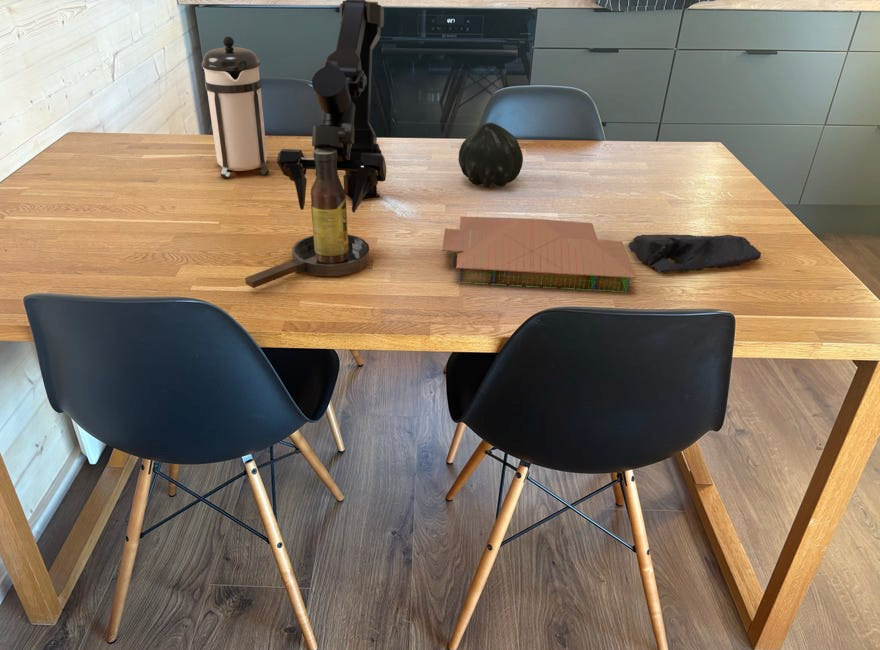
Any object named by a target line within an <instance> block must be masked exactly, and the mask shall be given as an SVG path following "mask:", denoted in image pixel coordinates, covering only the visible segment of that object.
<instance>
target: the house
mask: <svg viewBox="0 0 880 650" xmlns="http://www.w3.org/2000/svg"><path fill="white" fill-rule="evenodd" d="M459 221H460V222H459V228H444V234H443V240H442V249H441V251H443V252H446V253H452V254H451V255H452V256H451V258H452V259H451V269H454V261H455V260H456V267H455V269H460V279H459V281H460V284H461V283H462V284H469V283H472V282H471V281H472V278H469V279H470V281H469V282H467V281H462V277H463V275H466V274H468V272H467V271H468V270H479V273H474V276H475V277H474V279H476V278H477V277H476V276H484V274H482V271H484V272H486V271H492V274H487V276H489V278H488V280H490V278H491V276H492V285H496V286H504V285H505V282H504V281H505V280H503V284H502V283H501V284H500V283H495V279H496V277H498V279H500V278H501V277H502V275H501V273H499V275H496V271H497V272H501V271H502V272H504V273H503V276H505V277H506V278H507V279H508V280H507V283H509V281H510V277H511V278H512V277H513V279H512V280H514V278H515V275H505V274H506V272H508V273H510V272H518V275H517V278H520V273H522V281H521V284H523V282H524V279H526V282H529V281H528V280H529V278H531V280H533V279H534V275H532V276H524V275H525V273H527V274H529V273H535V274H537V275H536V276H537V277H536V278H539V276H538V275H539V274H541V281H540V284H542V283H543V280H545V282H547V280H549V279H550V281H552V280H553V276H551V277H543V276H544V274H546V275H549V274H551V275H554V274H555V275H556V276H555V279H558V278H557V277H558V275H561V277H560V280H559V281H560V283H559V285H561V283H562V281H564V283H567V282H566V281H569V282H571V281H572V278H570V279H568V278H563V277H562V276H563V275H565V277H567V275H570V276H580V277H579V284H578V286H580V285H581V282H584V283H583V285H586V284H585V283H586V282H588V284H590V285H591V286H590V285H588V286H587V288H585V286H583V287H582V288H580V287H578V288H577V290H583V291H595V290H596V284H597V283H599V284H601V283H607V279H605V280H602V279H600V280H597V277H600V278H602V277H604V278H610V280H609V282H612V281H611V280H612V278H615V279H614V282H613V283H614V284H613V288H612V292H617V293H618V292H619V293H628V289H629V285H630V280H631V279H637V275H636V272H635V270H634V267H633V265H632V263H631V260H630V256H629V254H628V252H627V250H626V247H625V244H624V242H623V241H621V240H607V239H606V240H605V239H603V240H602V239H598V237H597V233H596V230H595V227H594V224H593V222H585V221H584V222H582V221H569V220H555V219H544V218H543V219H542V218H526V217H525V218H524V217H522V218H521V217H490V216H489V217H487V216H486V217H485V216H460V220H459ZM455 252H457V254H455ZM455 256H457V257H456V258H454V257H455ZM463 269H464V270H466V271H465V273H464V272H463ZM469 275H470V276H472V273H469ZM582 276H584V280H583V279H581V278H582ZM587 276H589V280H588V279H587V280H586V277H587ZM576 278H577V277H575V279H574V281H577V279H576ZM617 278H619V282H618V281H617ZM485 282H486V278H484V281H483V283H482V282H475V285H476V284H479V285H487V283H485ZM537 283H538V281H536V283H535V285H533V283H531V285H527V287H531V288H539V286H537V285H538V284H537ZM521 284H520V285H519V282H517V284H510V286H511V287H513V286H514V287H521ZM556 284H557V282H555V283H554V286H552V283H550V285H549V286H547V285H545V286H544V288H546V289H547V288H548V289H556ZM615 284H618V286H620V285H621V284H623V288H622V290H620V287H618V288H617V290H615ZM603 285H604V286H603V288H605V287H606V284H603ZM570 286H571V284H569V287H566V285H564V287H562V290H563V289H564V290H565V289H566V290H574V287H576V283H574V284H573V288H571V287H570ZM610 286H611V283H609V285H608V287H610ZM590 287H591V288H590ZM600 288H601V285H599V286H598V289H597V291H600V292H610V288H608V290H607V289H600Z"/></svg>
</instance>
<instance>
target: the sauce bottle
mask: <svg viewBox="0 0 880 650" xmlns="http://www.w3.org/2000/svg"><path fill="white" fill-rule="evenodd" d="M312 153H313V155H312V156H313V158H314V161H315V167H316V169H315V172H314V175H315V180H314V181H313V183H312V186H311V187H310V201H311V202H310V203H311V204H310V211H311V222H312V234H313V237H314V250H315V252H316V259H317V260H318V261H319V262H321V263H323V264H338V263H341V262H343V261H345V260H346V259H347V257H348V234H349V231H348V213H347V212H348V211H347V195H346V194H345V192H344V185H343V184H342V181H341V179H340V176H339V172H338V170H337V158H338V156H337V150H336V149H333V148H319V149H316V150H314V149H313V152H312Z"/></svg>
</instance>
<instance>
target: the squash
mask: <svg viewBox="0 0 880 650" xmlns="http://www.w3.org/2000/svg"><path fill="white" fill-rule="evenodd" d="M523 163H524V155H523V152H522V148H521V147H520V143H519V141H518V140H517V138H516V137H515V136H514V135H513V134H512V133H511V132H509V131H508V130H507V129H506V128H504V127H503V126H500V124H497V123H493V122H485V123H484V124H481V125H480V126H478V127H477V128H475V129H474V130H473V131H471V132H470V133H469V134H468V136H466V138H465V139H464V140H463V141H462V143H461V145H460V147H459V150H458V164H459V167H460V169H461V172H462V174H463V176H465V177H466V178H467V179H468V181H469V182H470V183H471V185H473V186H483V188H491V187H492V186H493V185H494V186H496V187H504V186H506V185H507V184H510V183H512V182H513V181H515V180H516V179H517V178H518V176H519V175H520V173H521V170H522V167H523Z"/></svg>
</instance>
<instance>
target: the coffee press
mask: <svg viewBox="0 0 880 650" xmlns="http://www.w3.org/2000/svg"><path fill="white" fill-rule="evenodd" d="M222 43H223V45H224V46H225V47H218V48H213V49H211V50H209V51H208V52H206V53H205V54H204V56H203V60H202V61H201V68H202V69H203V71H204V84H205V90H206V92H207V99H208V106H209V114H210V115H209V116H210V121H211V128H212V129H211V130H212V137H213V143H214V151H215V157H216V162H217V165H218V166H219V167H221V172H220V177H221V178H222V179H229V178H230V176H231V174H232V172H233V171H234V172H235V171H236V172H244V171H251V170H257V171H259V172H260V174H261V175H262V176H266V175H268V174H270V168H269V167H268V166H267V164H266V163H267V161H268V156H267V155H268V153H267V152H268V151H267V142H266V141H267V140H266V131H265V130H266V129H265V121H264V110H263V101H262V89H261V88H262V80H261V76H260V69H259V68H260V65H261V61H260V59H258V57H257V55H256V53H255V52H253V50H250V49H249V48H245V47H240V46H239V47H236V46H234V43H235V41H234V39H233V37H231V36H225V37H224V38H223V41H222Z"/></svg>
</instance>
